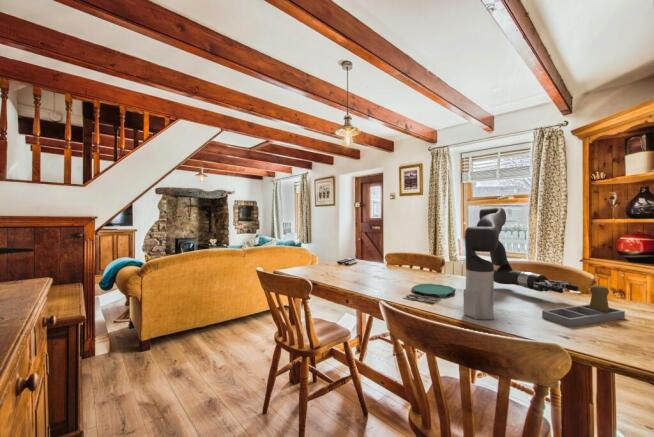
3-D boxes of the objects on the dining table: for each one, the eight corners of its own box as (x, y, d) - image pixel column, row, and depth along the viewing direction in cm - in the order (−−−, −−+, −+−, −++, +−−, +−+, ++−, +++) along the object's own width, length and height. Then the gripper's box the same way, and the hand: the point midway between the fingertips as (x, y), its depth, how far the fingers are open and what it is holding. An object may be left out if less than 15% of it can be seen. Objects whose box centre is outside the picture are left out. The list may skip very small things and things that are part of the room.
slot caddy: (570, 326, 98) (570, 319, 98) (542, 317, 107) (542, 310, 107) (624, 318, 106) (624, 311, 106) (593, 309, 115) (594, 303, 115)
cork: (614, 318, 106) (615, 288, 106) (595, 317, 107) (595, 287, 107) (602, 313, 112) (602, 284, 111) (584, 312, 113) (584, 283, 113)
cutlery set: (461, 291, 144) (461, 287, 144) (438, 307, 122) (438, 301, 122) (422, 285, 157) (422, 281, 157) (395, 299, 135) (394, 294, 135)
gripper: (520, 274, 132) (557, 281, 117) (543, 272, 136) (583, 279, 121) (520, 290, 132) (557, 300, 117) (543, 288, 136) (583, 297, 121)
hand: (570, 289), depth 119 cm, fingers open, 8 cm apart
